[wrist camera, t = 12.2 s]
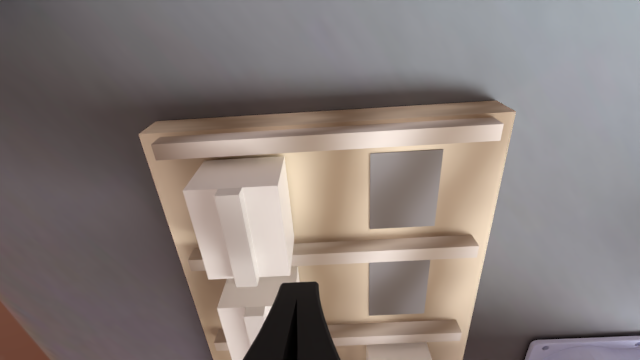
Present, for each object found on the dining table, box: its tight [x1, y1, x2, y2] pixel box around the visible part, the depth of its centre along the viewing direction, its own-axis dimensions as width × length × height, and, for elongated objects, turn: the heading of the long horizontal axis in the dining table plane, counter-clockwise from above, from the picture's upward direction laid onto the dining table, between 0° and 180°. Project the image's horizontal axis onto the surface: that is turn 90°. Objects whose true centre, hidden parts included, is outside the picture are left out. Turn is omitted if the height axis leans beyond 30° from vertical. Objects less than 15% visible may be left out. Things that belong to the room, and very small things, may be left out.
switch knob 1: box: [183, 156, 294, 287], centre depth 16 cm, size 4×5×4 cm
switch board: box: [138, 101, 516, 360], centre depth 22 cm, size 18×22×3 cm
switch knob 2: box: [217, 266, 300, 360], centre depth 20 cm, size 4×5×4 cm
